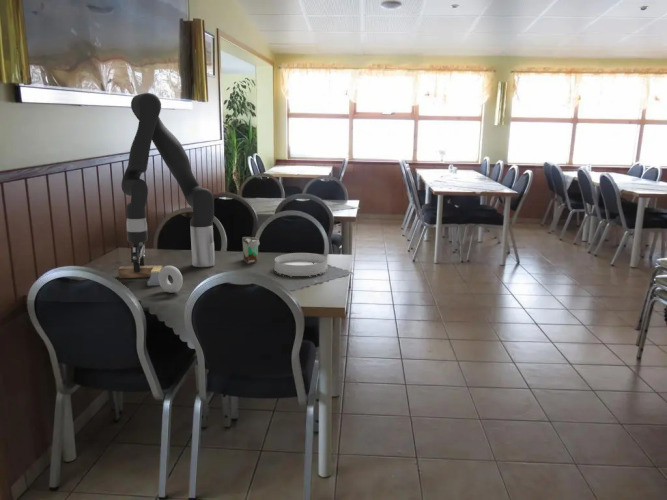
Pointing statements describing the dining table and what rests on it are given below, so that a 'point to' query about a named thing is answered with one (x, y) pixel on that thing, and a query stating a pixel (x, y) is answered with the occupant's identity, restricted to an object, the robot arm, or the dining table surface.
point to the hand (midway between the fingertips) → (139, 269)
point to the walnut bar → (129, 272)
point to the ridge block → (154, 276)
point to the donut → (165, 282)
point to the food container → (250, 249)
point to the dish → (300, 263)
